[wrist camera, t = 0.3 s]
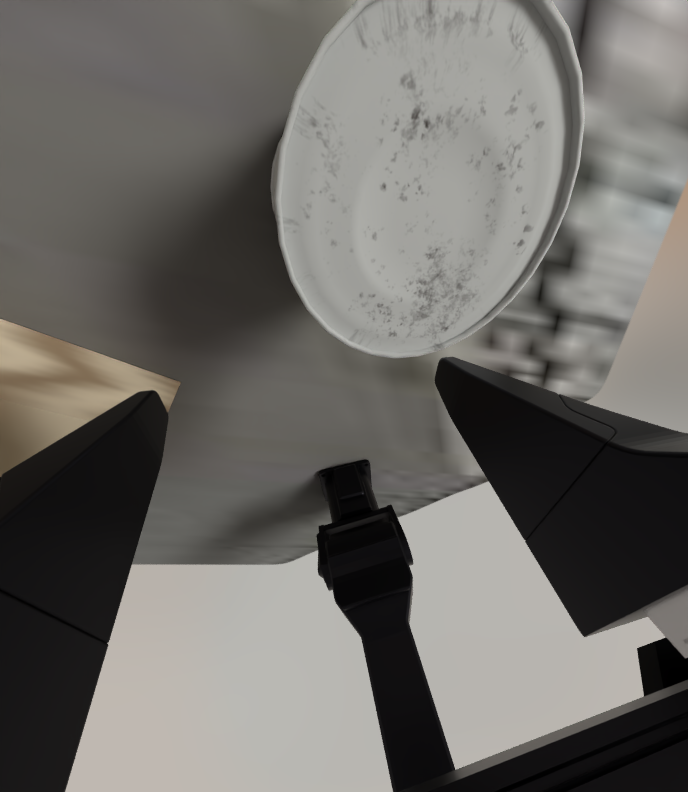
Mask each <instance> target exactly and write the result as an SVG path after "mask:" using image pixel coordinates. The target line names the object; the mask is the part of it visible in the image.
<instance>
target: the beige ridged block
mask: <svg viewBox="0 0 688 792" xmlns="http://www.w3.org/2000/svg"><path fill="white" fill-rule="evenodd" d="M180 383H181V382H178V381H176V380H173V379H170V378H167V377H164V376H161V375H159V374H156V373H153V372H150V371H147V370H144V369H142V368H139V367H136V366H133V365H130V364H127V363H125V362H122V361H119V360H116V359H113V358H110V357H108V356H105V355H102V354H99V353H96V352H93V351H90V350H88V349H85V348H82V347H79V346H76V345H73V344H71V343H68V342H65V341H62V340H59V339H56V338H54V337H51V336H48V335H45V334H42V333H39V332H37V331H34V330H31V329H28V328H25V327H22V326H20V325H17V324H14V323H11V322H8V321H5V320H3V319H0V477H1V476H2V474H3V473H5V472H6V471H8V470H10V469H11V468H13V467H15V466H16V465H18V464H20V463H21V462H23V461H25V460H26V459H28V458H30V457H31V456H33V455H35V454H36V453H38V452H39V451H41V450H43V449H44V448H46V447H48V446H49V445H51V444H53V443H54V442H56V441H58V440H59V439H61V438H63V437H64V436H66V435H68V434H69V433H71V432H73V431H74V430H76V429H78V428H79V427H81V426H83V425H84V424H86V423H87V422H89V421H91V420H92V419H94V418H96V417H97V416H99V415H101V414H102V413H104V412H106V411H107V410H109V409H111V408H112V407H114V406H116V405H117V404H119V403H121V402H122V401H124V400H126V399H127V398H129V397H130V396H132V395H134V394H135V393H137V392H140V391H148V390H154V391H156V392H157V393H158V394H159V396H160V398H161V400H162V402H163V404H164V406H165V408H166V410H167V412H168V411H169V409H170V406H171V404H172V402H173V399H174V397H175V395H176V392H177V390H178V388H179V385H180Z"/></svg>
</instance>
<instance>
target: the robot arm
mask: <svg viewBox="0 0 688 792" xmlns="http://www.w3.org/2000/svg"><path fill="white" fill-rule="evenodd" d="M435 384H436V387H437V389H438V391H439V393H440V396H441V398H442V400H443V402H444V404H445V407H446V409H447V411H448V413H449V415H450V417H451V419H452V421H453V423H454V424H455V426H456V428H457V429H458V431H459V433H460V434H461V436H462V438H463V439H464V441H465V442H466V444H467V446H468V447H469V449H470V451H471V452H472V454H473V456H474V457H475V459H476V461H477V462H478V464H479V466H480V467H481V469H482V471H483V472H484V474H485V476H486V477H487V479H488V481H489V482H490V484H491V485H492V487H493V489H494V490H495V492H496V494H497V495H498V497H499V499H500V500H501V502H502V504H503V505H504V507H505V509H506V510H507V512H508V514H509V515H510V517H511V519H512V520H513V522H514V524H515V525H516V527H517V528H518V530H519V532H520V533H521V535H522V537H523V538H524V540H526V541H525V542H526V544H527V545H528V547H529V549H530V550H531V552H532V553H533V555H534V557H535V558H536V560H537V562H538V564H539V565H540V567H541V568H542V570H543V572H544V573H545V575H546V577H547V578H548V580H549V581H550V583H551V585H552V587H553V588H554V590H555V592H556V593H557V595H558V597H559V598H560V600H561V602H562V603H563V605H564V607H565V608H566V610H567V611H568V613H569V615H570V616H571V618H572V620H573V621H574V623H575V625H576V626H577V628H578V629H579V631H580V632H581V634H582V635H583V636H584V637H587V636H590V635H593V634H596V633H599V632H602V631H605V630H608V629H611V628H614V627H617V626H620V625H623V624H627V623H630V622H633V621H636V620H638V619H642V618H645V617H649V618H650V620H651V621H652V622H653V623H654V624H655V625H656V626H657V628H658V629H659V630H660V631H661V632H662V633H663V634H664V636H665V637H666V638H664V639H661V640H658V641H655V642H653V643H650V644H647V645H645V646H642V647H639V648H637V651H638V658H639V665H640V671H641V677H642V685H643V691H644V697H642V698H639V699H637V700H634V701H632V702H629V703H627V704H624V705H621V706H619V707H616V708H614V709H611V710H609V711H606V712H603V713H601V714H598V715H596V716H593V717H591V718H588V719H586V720H583V721H580V722H578V723H575V724H573V725H570V726H567V727H565V728H563V729H560V730H557V731H555V732H552V733H550V734H547V735H544V736H542V737H539V738H537V739H534V740H531V741H529V742H526V743H524V744H521V745H519V746H516V747H513V748H511V749H508V750H506V751H503V752H501V753H498V754H495V755H493V756H491V757H488V758H485V759H483V760H480V761H477V762H475V763H473V764H470V765H467V766H465V767H462V768H459V769H457V770H455V767H454V764H453V761H452V758H451V755H450V751H449V748H448V745H447V742H446V739H445V736H444V733H443V729H442V726H441V723H440V720H439V717H438V714H437V711H436V707H435V704H434V702H433V698H432V695H431V692H430V688H429V686H428V682H427V679H426V676H425V673H424V670H423V667H422V663H421V660H420V657H419V654H418V651H417V648H416V645H415V641H414V638H413V635H412V632H411V629H410V625H409V621H410V612H411V604H412V595H413V583H412V582H413V580H412V579H413V577H412V573H411V570H410V567H409V565H413V559H412V555H411V551H410V548H409V545H408V542H407V539H406V537H405V534H404V532H403V530H402V527H401V525H400V523H399V521H398V518H397V516H396V514H395V512H394V510H393V507H392V505H388V506H387V507H384V508H380V509H379V508H378V505H377V502H376V499H375V496H374V493H373V490H372V485H371V470H370V462H369V460H363V461H359V462H355V463H351V464H347V465H343V466H338V467H334V468H330V469H326V470H322V471H320V472H319V477H320V481H321V485H322V489H323V492H324V496H325V500H326V501H328V503H329V509H330V514H331V519H332V523H331V524H327V525H321V526H319V533H318V534H317V543H318V573H319V575H320V576H321V577H322V578H324V581H325V583H326V585H327V588H328V590H333V593H334V598H335V602H336V604H337V605H338V607H339V608H340V609H341V611H342V612H343V614H344V615H345V616H346V618H347V619H348V621H349V622H350V623H351V624H352V626H353V627H354V629H355V630H356V631H357V633H358V634H359V635H360V637H361V639H362V643H363V648H364V653H365V657H366V662H367V667H368V672H369V677H370V682H371V687H372V691H373V696H374V701H375V706H376V711H377V716H378V720H379V725H380V730H381V735H382V740H383V745H384V750H385V754H386V759H387V764H388V769H389V774H390V779H391V783H392V788H393V792H688V433H682V432H678V431H674V430H671V429H667V428H664V427H661V426H658V425H654V424H651V423H648V422H645V421H641V420H638V419H635V418H632V417H628V416H625V415H621V414H618V413H615V412H612V411H609V410H605V409H602V408H599V407H596V406H593V405H590V404H587V403H584V402H581V401H578V400H575V399H572V398H569V397H566V396H564V395H561V394H559V395H558V394H557V393H555V392H552V391H549V390H546V389H543V388H541V387H538V386H535V385H532V384H529V383H526V382H523V381H521V380H518V379H515V378H512V377H509V376H506V375H503V374H501V373H498V372H495V371H492V370H489V369H486V368H483V367H481V366H478V365H475V364H472V363H469V362H466V361H463V360H460V359H458V358H455V357H445V358H441V359H440V361H439V363H438V367H437V371H436V375H435ZM167 425H168V412H167V410H166V408H165V406H164V404H163V402H162V400H161V398H160V396H159V394H158V393H157V392H156V391H154V390H148V391H140V392H137V393H135V394H134V395H132V396H130V397H129V398H127V399H126V400H124V401H122V402H121V403H119V404H117V405H116V406H114V407H112V408H111V409H109V410H107V411H106V412H104V413H102V414H101V415H99V416H97V417H96V418H94V419H92V420H91V421H89V422H87V423H86V424H84V425H83V426H81V427H79V428H78V429H76V430H74V431H73V432H71V433H69V434H68V435H66V436H64V437H63V438H61V439H59V440H58V441H56V442H54V443H53V444H51V445H49V446H48V447H46V448H44V449H43V450H41V451H39V452H38V453H36V454H35V455H33V456H31V457H30V458H28V459H26V460H25V461H23V462H21V463H20V464H18V465H16V466H15V467H13V468H11V469H10V470H8V471H6V472H5V473H3V474H2V476H1V477H0V792H65V790H66V786H67V783H68V780H69V776H70V773H71V770H72V766H73V763H74V759H75V756H76V752H77V749H78V746H79V742H80V739H81V736H82V732H83V729H84V725H85V722H86V719H87V715H88V712H89V709H90V705H91V702H92V698H93V695H94V692H95V688H96V685H97V681H98V678H99V674H100V671H101V668H102V664H103V661H104V657H105V654H106V651H107V647H108V644H107V643H108V642H109V640H110V636H111V633H112V629H113V626H114V623H115V619H116V616H117V612H118V609H119V606H120V602H121V599H122V595H123V592H124V589H125V585H126V582H127V579H128V575H129V572H130V568H131V565H132V562H133V558H134V555H135V551H136V548H137V545H138V541H139V538H140V534H141V531H142V528H143V524H144V521H145V517H146V514H147V511H148V507H149V504H150V500H151V497H152V494H153V490H154V487H155V483H156V480H157V477H158V473H159V470H160V466H161V462H162V457H163V451H164V444H165V438H166V431H167Z"/></svg>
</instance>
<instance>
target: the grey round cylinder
mask: <svg viewBox="0 0 688 792" xmlns="http://www.w3.org/2000/svg"><path fill="white" fill-rule="evenodd" d="M584 122H585V117H584V100H583V83H582V72H581V68H580V65H579V61H578V58H577V54H576V51H575V47H574V44H573V40H572V37H571V33H570V30H569V27H568V25H567V24H566V22H565V21H564V19H563V17H562V16H561V14H560V13H559V11H558V9H557V8H556V6H555V5H554V3H553V1H552V0H356V1H355V2H354V4H353V5H352V6H351V7H350V8H349V9H348V10H347V12H346V13H345V14H344V15H343V16H342V17H341V18H340V20H339V21H338V22H337V23H336V24H335V25H334V26H333V28H332V29H331V30H330V31H329V32H328V33H327V35H326V36H325V37H324V38H323V40H322V42H321V44H320V46H319V48H318V49H317V51H316V53H315V55H314V57H313V59H312V61H311V63H310V65H309V67H308V68H307V70H306V72H305V74H304V76H303V78H302V80H301V82H300V84H299V86H298V87H297V89H296V91H295V94H294V98H293V101H292V104H291V108H290V111H289V115H288V118H287V122H286V125H285V129H284V132H283V135H282V138H281V140H280V141H279V143H278V147H277V150H276V154H275V157H274V161H273V164H272V174H271V186H270V188H271V198H272V207H273V212H274V215H275V218H276V222H277V229H278V239H279V245H280V248H281V252H282V255H283V258H284V261H285V265H286V268H287V271H288V274H289V278H290V281H291V283H292V284H293V286H294V288H295V290H296V292H297V293H298V295H299V297H300V299H301V301H302V302H303V304H304V306H305V308H306V310H307V311H308V312H309V313H310V314H311V315H312V316H313V317H314V318H315V320H316V321H317V322H318V323H319V324H320V325H321V326H322V327H323V328H324V330H325V331H326V332H328V333H329V334H331V335H332V336H334V337H335V338H337V339H338V340H339V341H341V342H342V343H344V344H345V345H347V346H349V347H351V348H354V349H356V350H359V351H362V352H364V353H367V354H370V355H374V356H382V357H389V358H404V357H416V356H422V355H425V354H429V353H432V352H435V351H439V350H442V349H445V348H447V347H449V346H451V345H453V344H455V343H457V342H459V341H461V340H463V339H465V338H467V337H469V336H470V335H471V334H473V333H474V332H476V331H477V330H478V329H480V328H481V327H483V326H484V325H486V324H487V323H488V322H490V321H491V320H492V319H493V318H494V317H495V316H496V315H497V314H498V313H499V312H500V311H501V310H503V309H504V308H505V307H506V306H507V305H508V304H509V303H510V302H511V301H512V300H513V299H514V298H515V296H516V295H517V294H518V293H519V291H520V290H521V289H522V288H523V286H524V285H525V284H526V283H527V281H528V280H529V279H530V278H531V276H532V275H533V274H534V272H535V270H536V269H537V267H538V265H539V264H540V262H541V260H542V259H543V257H544V255H545V254H546V252H547V250H548V249H549V247H550V246H551V244H552V242H553V240H554V237H555V235H556V233H557V230H558V228H559V226H560V224H561V221H562V219H563V217H564V214H565V212H566V210H567V207H568V204H569V201H570V197H571V194H572V190H573V186H574V183H575V179H576V176H577V172H578V168H579V164H580V156H581V147H582V139H583V130H584Z"/></svg>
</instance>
